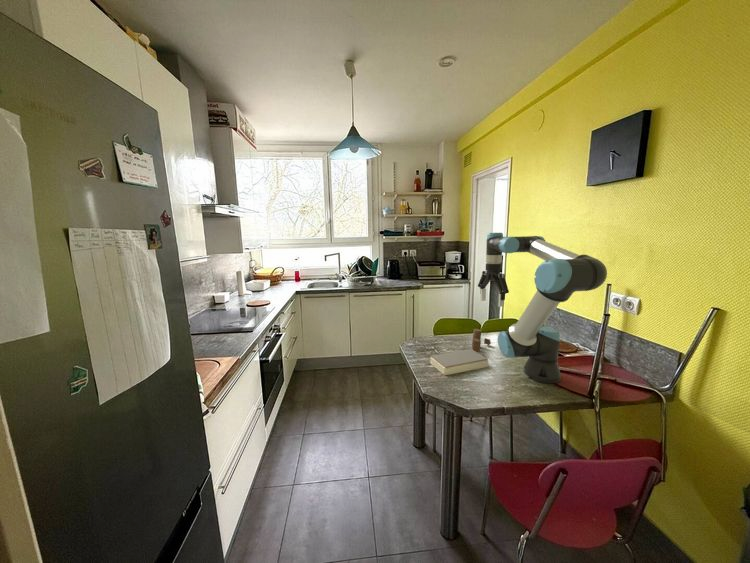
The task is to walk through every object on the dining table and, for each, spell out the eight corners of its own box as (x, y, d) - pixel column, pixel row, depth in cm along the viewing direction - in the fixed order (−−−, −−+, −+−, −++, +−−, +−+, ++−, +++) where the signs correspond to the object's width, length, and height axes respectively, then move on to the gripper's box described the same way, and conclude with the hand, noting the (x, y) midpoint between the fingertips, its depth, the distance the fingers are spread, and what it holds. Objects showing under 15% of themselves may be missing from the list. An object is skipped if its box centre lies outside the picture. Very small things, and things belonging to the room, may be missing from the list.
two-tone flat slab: (488, 366, 145) (488, 359, 144) (444, 375, 137) (445, 367, 137) (470, 356, 158) (471, 349, 157) (430, 363, 150) (430, 356, 149)
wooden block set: (480, 356, 157) (483, 338, 155) (465, 351, 162) (467, 334, 160) (490, 346, 172) (492, 329, 170) (475, 342, 177) (477, 326, 175)
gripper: (518, 265, 140) (515, 308, 143) (483, 260, 163) (481, 297, 167) (505, 265, 137) (503, 309, 141) (472, 261, 161) (470, 299, 164)
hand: (491, 303), depth 154 cm, fingers open, 13 cm apart
